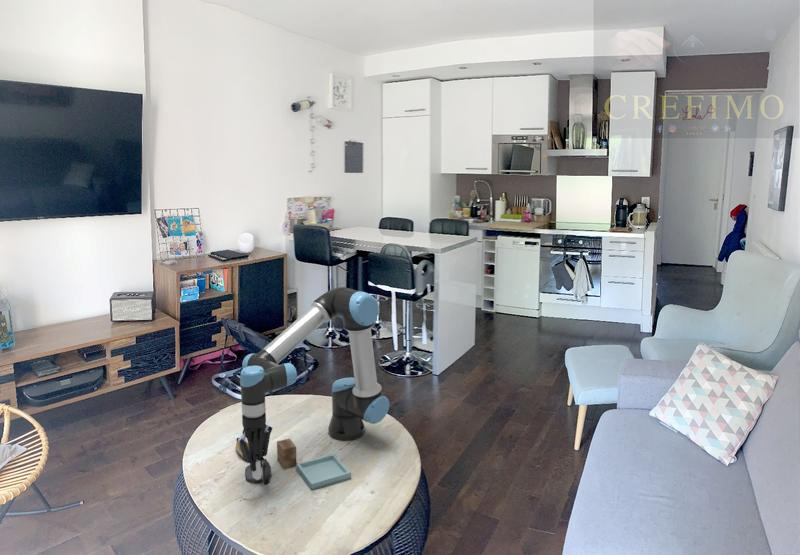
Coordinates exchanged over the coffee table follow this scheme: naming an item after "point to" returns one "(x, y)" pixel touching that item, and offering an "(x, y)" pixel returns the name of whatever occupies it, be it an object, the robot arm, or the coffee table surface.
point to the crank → (265, 472)
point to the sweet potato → (240, 448)
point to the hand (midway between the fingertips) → (256, 477)
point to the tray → (323, 471)
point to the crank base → (250, 479)
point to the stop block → (286, 453)
